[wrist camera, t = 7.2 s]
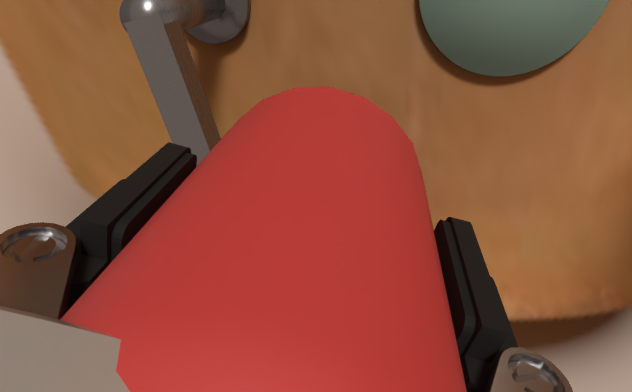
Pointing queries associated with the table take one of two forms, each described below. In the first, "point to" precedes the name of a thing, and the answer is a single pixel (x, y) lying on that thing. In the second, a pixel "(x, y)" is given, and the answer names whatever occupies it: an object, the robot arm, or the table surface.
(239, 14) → the zigzag metal bar linkage
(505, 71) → the coaster
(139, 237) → the beer can
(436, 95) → the table surface
